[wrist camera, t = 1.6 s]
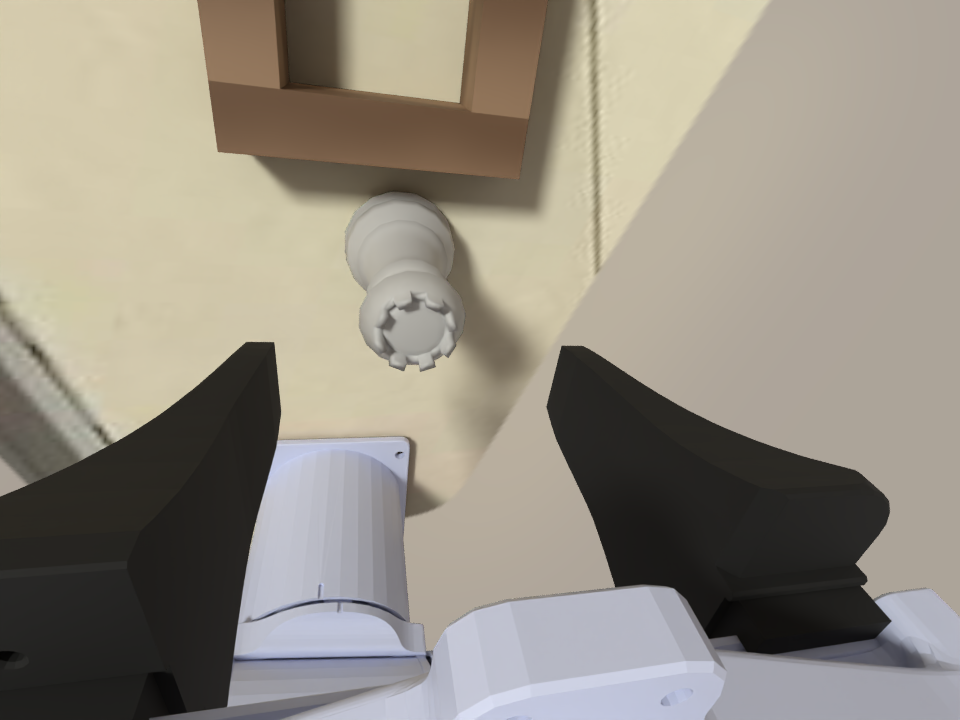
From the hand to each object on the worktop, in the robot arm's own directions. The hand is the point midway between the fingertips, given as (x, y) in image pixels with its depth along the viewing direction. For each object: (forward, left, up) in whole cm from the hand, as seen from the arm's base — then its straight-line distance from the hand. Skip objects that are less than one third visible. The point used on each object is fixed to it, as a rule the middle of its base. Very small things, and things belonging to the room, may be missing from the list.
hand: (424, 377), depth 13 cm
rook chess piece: (0, 0, -10) cm, 10 cm away
